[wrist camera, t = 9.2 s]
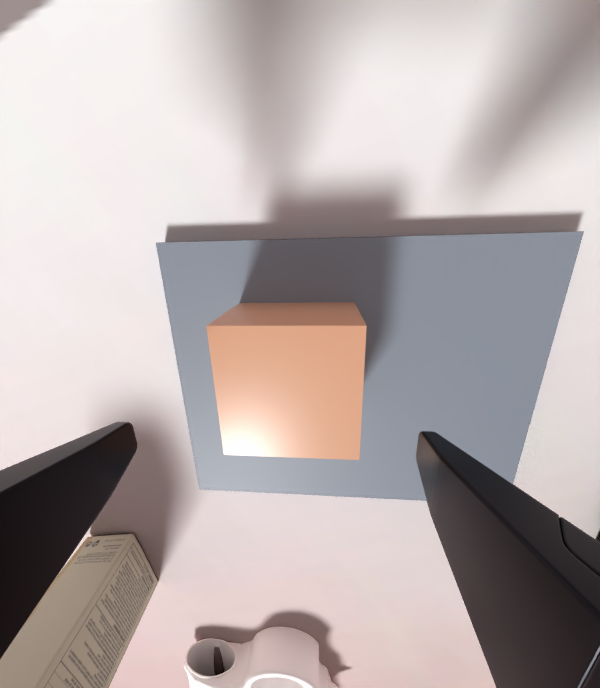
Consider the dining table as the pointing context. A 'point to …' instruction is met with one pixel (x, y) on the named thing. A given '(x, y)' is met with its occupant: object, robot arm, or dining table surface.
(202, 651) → the white egg tray
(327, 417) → the orange block
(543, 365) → the base plate
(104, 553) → the skincare box
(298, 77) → the dining table surface
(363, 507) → the dining table surface
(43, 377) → the dining table surface
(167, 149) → the dining table surface
